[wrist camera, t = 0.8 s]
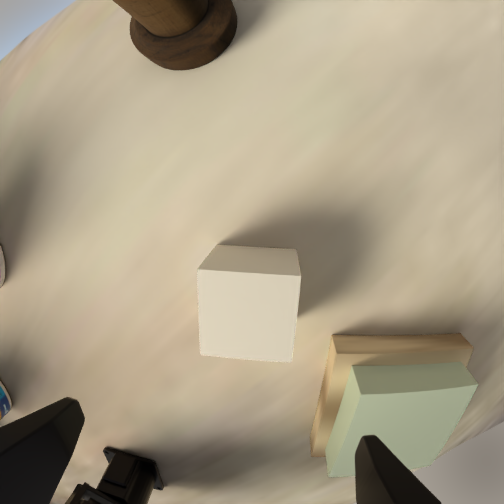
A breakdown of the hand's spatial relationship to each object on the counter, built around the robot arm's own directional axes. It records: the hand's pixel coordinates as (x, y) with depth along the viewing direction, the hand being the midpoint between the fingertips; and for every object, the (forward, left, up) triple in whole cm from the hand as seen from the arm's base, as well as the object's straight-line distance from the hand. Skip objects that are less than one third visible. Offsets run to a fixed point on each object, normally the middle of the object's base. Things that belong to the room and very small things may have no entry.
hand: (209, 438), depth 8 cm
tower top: (-9, -11, -10) cm, 18 cm away
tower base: (-9, -11, -14) cm, 20 cm away
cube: (0, 0, -13) cm, 13 cm away
